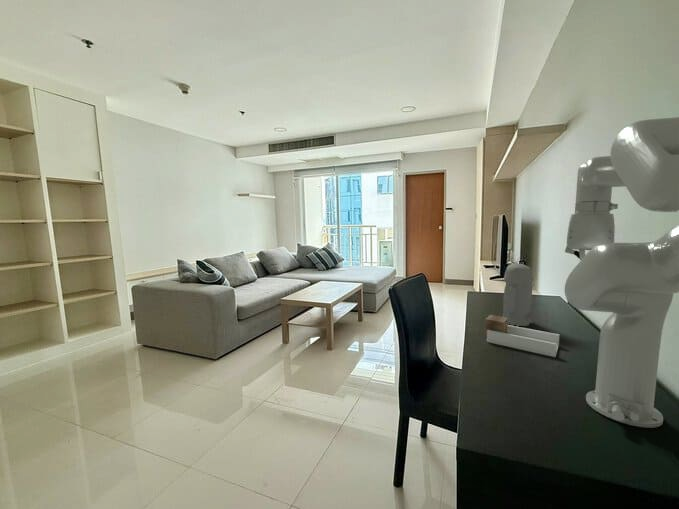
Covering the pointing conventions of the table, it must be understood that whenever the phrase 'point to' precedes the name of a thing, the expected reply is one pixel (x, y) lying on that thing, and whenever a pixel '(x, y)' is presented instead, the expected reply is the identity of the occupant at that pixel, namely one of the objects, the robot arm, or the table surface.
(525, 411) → the table surface
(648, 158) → the robot arm
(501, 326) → the walnut block
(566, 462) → the table surface
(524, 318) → the unidentifiable
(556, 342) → the chute
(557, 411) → the table surface
